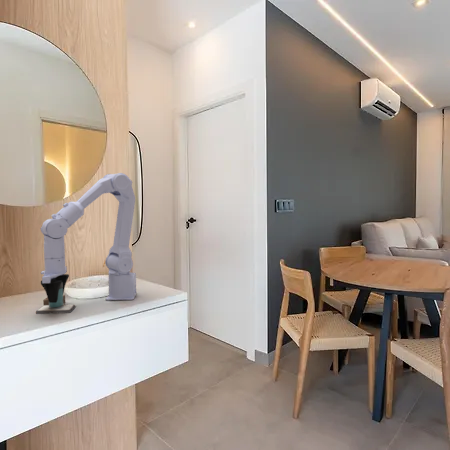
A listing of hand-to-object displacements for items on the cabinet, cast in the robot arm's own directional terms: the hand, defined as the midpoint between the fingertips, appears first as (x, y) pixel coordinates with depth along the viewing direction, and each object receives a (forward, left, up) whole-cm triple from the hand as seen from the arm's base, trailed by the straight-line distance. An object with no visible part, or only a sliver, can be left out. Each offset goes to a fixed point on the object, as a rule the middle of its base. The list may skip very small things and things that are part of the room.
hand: (56, 299), depth 103 cm
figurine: (-11, -32, -4) cm, 34 cm away
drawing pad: (0, 0, -3) cm, 3 cm away
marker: (0, 0, -2) cm, 2 cm away
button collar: (+3, -5, -3) cm, 7 cm away
